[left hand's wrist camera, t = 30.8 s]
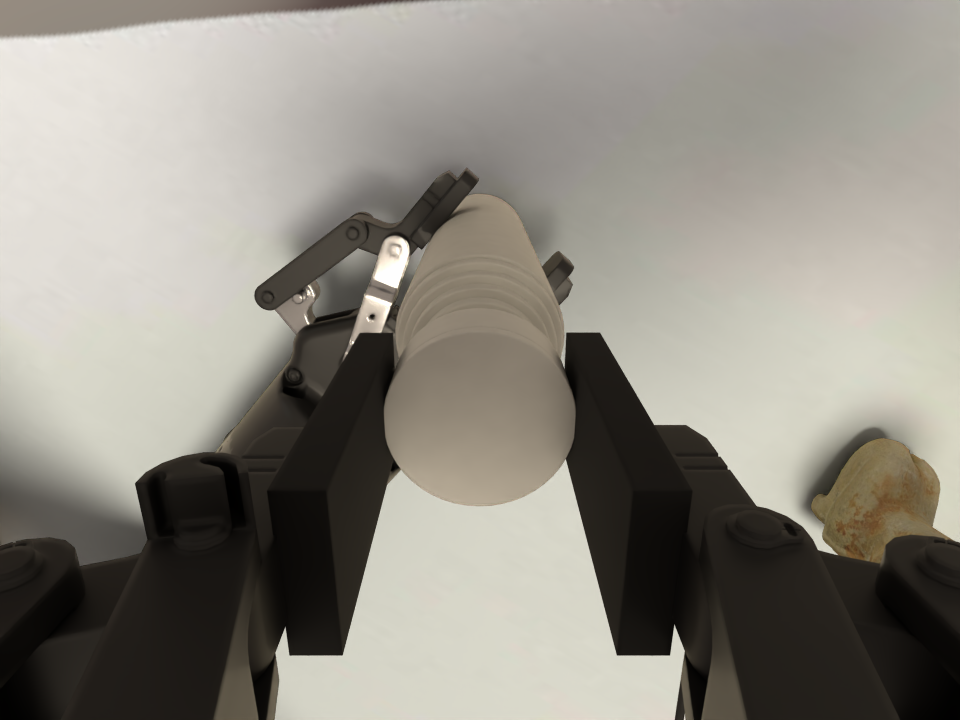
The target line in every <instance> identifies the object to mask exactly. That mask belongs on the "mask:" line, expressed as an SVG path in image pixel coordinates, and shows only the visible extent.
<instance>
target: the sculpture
mask: <svg viewBox="0 0 960 720" xmlns="http://www.w3.org/2000/svg"><path fill="white" fill-rule="evenodd" d="M939 494H940V482H939V479H938V477H937V475H936V473H935V471H934V470H933V468H932V467H931V466H930V465H929V464H928V463H927V462H926V461H924V460H922V459H920V458H918V457H917V456H915V455H913V454H910V452H909V449H908V448H907V447H906V446H904V445H903V444H901V443H900V442H897V441H894V440H890V439H884V438H880V439H875V440H872V441H870V442H868V443H866V444H865V445H863V446H862V447H860V448H859V449H858V450H857V451H856V452H855V453H854V454H853V455H852V456H851V457H850V459H849V460H848V461H847V463H846V464H845V466H844V467H843V469H842V470H841V472H840V474H839V476H838V478H837V480H836V482H835V484H834V486H833V487H832V489H831V491H830V493H829V494H828V495H824V494H818V495H817V496H816V497H815V498H814V499H813V501H812V504H811V509H812V511H813V512H814V514H815V515H816V517H817V518H818V519H819V520H820V521H821V522H822V523H824V524H825V526H824V530H823V533H822V537H823V540H824V541H825V543H826V544H828V545H829V546H830V547H831V548H832V549H833V550H834V551H835V552H836V553H837V554H838V555H839V556H844V557H849V558H855V559H860V560H865V561H870V562H875V563H881V560H882V556H883V552H884V549H885V545H886V544H887V543H888V542H890V541H891V540H892V539H893V538H894V537H900V536H906V535H923V536H935V537H940V538H945V540H948V539H949V540H952V539H950V538H949V537H947V536H945V535H944V534H942V533H941V532H939V531H938V530H936V529H934V528H933V527H932V526H933V522H934V518H935V513H936V509H937V505H938V500H939ZM952 541H953V540H952Z"/></svg>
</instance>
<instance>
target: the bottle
mask: <svg viewBox="0 0 960 720" xmlns="http://www.w3.org/2000/svg"><path fill="white" fill-rule="evenodd" d="M471 308H488V309H496V310H501V311H505V312H508V313H511V314H514V315H516V316H518V317H520V318H522V319H524V320H526V321H528V322H529V323H531V324H532V325H534V326H535V327H536V328H538V329H539V330H540V331H541V332H542V333H543V334H544V335H545V336H546V337H547V338H548V339H549V341H550V342H551V343H552V345H553V346H554V348H555V349H556V351H557V353H558V355H559V357H560V358H561V354H562V349H563V344H564V323H563V318H562V313H561V310H560V307H559V304H558V302H557V300H556V297H555V295H554V293H553V291H552V289H551V286H550V284H549V282H548V280H547V277H546V275H545V273H544V271H543V269H542V266H541V264H540V262H539V260H538V257H537V255H536V253H535V251H534V248H533V246H532V244H531V242H530V240H529V237H528V235H527V233H526V231H525V228H524V226H523V224H522V222H521V220H520V218H519V216H518V214H517V213H516V211H515V210H514V209H513V208H512V207H511V206H510V205H509V204H508V203H506V202H505V201H503V200H502V199H500V198H498V197H495V196H492V195H487V194H472V195H468V196H466V197H465V198H464V200H463V201H462V202H461V203H460V204H459V206H458V207H457V208H456V209H455V210H454V212H453V213H452V214H451V215H450V216H449V218H448V219H447V220H446V221H445V222H444V224H443V225H442V226H441V227H440V228H439V229H438V230H437V231H436V233H435V234H434V235H433V237H432V238H431V239H430V241H429V244H428V246H427V248H426V250H425V252H424V255H423V257H422V259H421V261H420V264H419V266H418V268H417V270H416V273H415V275H414V277H413V279H412V281H411V284H410V286H409V288H408V290H407V293H406V295H405V297H404V299H403V302H402V304H401V306H400V309H399V312H398V316H397V321H396V329H395V330H396V346H397V351H398V356H399V358H400V356H401V354H402V352H403V350H404V349H405V347H406V346H407V344H408V343H409V341H410V340H411V339H412V338H413V337H414V336H415V335H416V333H417V332H419V331H420V330H421V329H422V328H423V327H425V326H426V325H427V324H429V323H430V322H432V321H433V320H435V319H437V318H439V317H441V316H443V315H446V314H448V313H452V312H455V311H458V310H464V309H471Z"/></svg>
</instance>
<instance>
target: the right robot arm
mask: <svg viewBox="0 0 960 720" xmlns="http://www.w3.org/2000/svg"><path fill="white" fill-rule="evenodd" d="M478 181H479V178H478V177H477V176H476V175H475V174H473V173H472V172H471V171H470V170H469V169H468V168H466V169H465V170H464V171H463V173H462V174H461V175H460V176H459V177H458V178H457V177H456V176H455V175H454V174H453V173H451V172H450V171H447V172H446V173H444V174H442V175H440V176H438V177H437V179H436V180H435V181H434V182H433V183H432V185H431V186H430V187H429V188H428V190H427V191H426V192H425V193H424V195H423V196H422V197H421V198H420V199H419V201H418V202H417V203H416V204H415V206H414V207H413V208H412V209H411V211H410V212H409V213H408V214H407V216H406V217H405V218H404V219H403V220H402V221H400V222H398V223H394V224H390V223H386V222H383V221H380V220H378V219H375V218H373V216H372V215H370V214H369V213H367V212H358V213H356V214H354V215H353V216H352V217H350V218H349V219H347V220H346V221H344V222H343V223H341V224H340V225H339V226H337V227H336V228H335V229H333V230H332V231H331V232H330V233H328V234H327V235H326V236H324V237H323V238H322V239H320V240H319V241H318V242H316V243H315V244H314V245H312V246H311V247H310V248H308V249H307V250H306V251H304V252H303V253H302V254H301V255H299V256H298V257H297V258H295V259H294V260H293V261H291V262H290V263H289V264H287V265H286V266H285V267H283V268H282V269H281V270H279V271H278V272H277V273H275V274H274V275H273V276H272V277H270V278H269V279H268V280H266V281H265V282H264V283H262V284H261V285H260V286H258V287H257V289H256V290H255V295H254V296H255V300H256V302H257V304H258V305H259V306H260V307H261V308H263V309H265V310H276V312H277V313H278V314H279V315H280V316H281V317H282V319H283V320H284V321H285V322H286V323H287V325H288V326H289V327H290V328H291V329H292V330H293V332H294V333H295V334H296V337H295V339H294V343H293V352H292V356H291V358H290V361H289V362H288V363H287V364H286V365H285V367H284V368H283V369H282V370H281V372H280V373H279V374H278V375H277V377H276V378H275V379H274V380H273V382H272V383H271V384H270V385H269V386H268V388H267V389H266V390H265V391H264V393H263V394H262V395H261V396H260V398H259V399H258V400H257V401H256V402H255V404H254V405H253V406H252V407H251V409H250V410H249V411H248V412H247V414H246V415H245V416H244V417H243V418H242V420H241V421H240V423H238V425H237V426H236V427H235V428H234V429H232V430H231V431H230V432H229V433H228V434H227V436H226V437H225V439H224V441H223V443H222V444H221V446H220V447H219V448H218V449H217V451H216V452H223V453H228V454H232V455H236V456H239V457H240V458H241V459H242V455H243V453H244V452H245V451H246V449H247V448H248V447H249V445H250V444H251V442H252V441H253V440H254V439H256V438H258V437H259V436H261V435H262V434H264V433H265V432H267V431H269V430H270V429H272V428H273V427H305V425H306V423H307V421H308V420H309V418H310V416H311V415H312V413H313V411H314V410H315V408H316V406H317V404H318V403H319V401H320V399H321V398H322V396H323V394H324V393H325V391H326V389H327V387H328V386H329V384H330V382H331V381H332V379H333V377H334V376H335V374H336V372H337V370H338V369H339V367H340V365H341V364H342V362H343V360H344V358H345V357H346V355H347V353H348V352H349V350H350V348H351V347H352V345H353V343H354V341H355V340H356V338H357V336H358V335H359V333H393V341H394V361H395V369H396V366H397V363H398V360H399V356H398V351H397V346H396V330H395V329H396V321H397V316H398V312H399V309H400V307H399V306H397V305H396V306H395V307H394V304H395V301H396V298H397V296H398V293H399V290H400V287H401V284H402V281H403V277H404V274H405V271H406V268H407V266H408V263H409V260H410V257H411V255H412V253H413V252H414V251H415V250H416V249H417V247H419V248H420V249H423V248H424V246H425V245H426V244H427V243H428V242H429V240H430V239H431V238H432V237H433V235H434V234H435V233H436V231H437V230H438V229H439V228H440V227H441V226H442V225H443V224H444V222H445V221H446V220H447V219H448V218H449V216H450V215H451V214H452V213H453V212H454V210H455V209H456V208H457V207H458V206H459V204H460V203H461V202H462V201H463V200H464V198H465V197H466V196H467V195H468V194H469V192H470V191H471V190H472V189H473V188H474V186H475V185H476V184H477V182H478ZM358 248H359V249H362V250H365V251H367V252H370V253H373V254H376V255H378V259H377V262H376V265H375V268H374V271H373V274H372V277H371V280H370V283H369V285H368V287H367V290H366V292H365V295H364V298H363V301H362V304H361V307H360V308H356V309H352V310H347V311H343V312H339V313H334V314H330V315H326V316H321V317H317V318H316V317H315V316H314V314H313V311H312V307H313V304H314V302H315V301H316V300H317V299H318V297H319V295H320V287H319V285H318V283H317V282H316V281H315V280H316V279H317V278H319V277H320V276H321V275H323V274H324V273H325V272H327V271H328V270H329V269H331V268H332V267H333V266H335V265H336V264H337V263H339V262H340V261H341V260H343V259H344V258H345V257H347V256H348V255H349V254H351V253H352V252H354V251H355V250H356V249H358ZM542 269H543V271H544V273H545V275H546V277H547V280H548V282H549V284H550V286H551V289H552V291H553V293H554V295H555V297H556V300H557V302H558V304H559V305H560V304H561V303H562V302H563V301H564V300H565V299H566V298H567V297H568V295H569V293H570V290H571V288H572V285H573V284H572V282H571V281H570V279H569V277H568V276H569V275H570V274H571V273H572V271H573V269H574V266H573V265H572V263H571V262H570V261H569V260H568V259H567V258H566V257H565V256H564V255H563V254H562V253H560V252H559V251H558V252H556V253H555V254H554V255H552V256H551V258H550V259H549V260H548V261H547V262H546V263H545V264H544V265H543V266H542ZM400 470H401V469H400V467H399V466H398V465H397V463H396V461H395V460H394V459H393V463H392V467H391V471H390V475H389V479H388V483H389V482H390V481H391V480H392V479H393V478H394V477H395V476H396V475H397V473H398V472H399V471H400ZM388 483H387V484H388Z"/></svg>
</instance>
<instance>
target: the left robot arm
mask: <svg viewBox="0 0 960 720" xmlns="http://www.w3.org/2000/svg"><path fill="white" fill-rule="evenodd" d="M394 372H395V361H394V341H393V333H359V335H358V336H357V338H356V340H355V341H354V343H353V345H352V347H351V348H350V350H349V352H348V353H347V355H346V357H345V358H344V360H343V362H342V364H341V365H340V367H339V369H338V370H337V372H336V374H335V376H334V377H333V379H332V381H331V382H330V384H329V386H328V387H327V389H326V391H325V393H324V394H323V396H322V398H321V399H320V401H319V403H318V404H317V406H316V408H315V410H314V411H313V413H312V415H311V416H310V418H309V420H308V421H307V423H306V425H305V427H273V428H272V429H270V430H269V431H267V432H265V433H264V434H262V435H261V436H259V437H258V438H256V439H254V440H253V441H252V442H251V444H250V445H249V447H248V448H247V449H246V451H245V452H244V453H243V455H242V459H241V458H240V457H239V456H236V455H232V454H228V453H223V452H203V453H198V454H192V455H186V456H181V457H179V458H176V459H173V460H170V461H167V462H164V463H162V464H160V465H158V466H156V467H154V468H153V469H151V470H149V471H147V472H146V473H145V474H144V475H143V476H142V477H141V478H140V479H139V480H138V481H137V482H136V483H135V486H136V490H137V494H138V499H139V503H140V508H141V512H142V517H143V521H144V526H145V530H146V535H147V539H148V540H147V542H146V544H145V546H144V548H143V550H142V553H140V554H136V555H132V556H129V557H125V558H120V559H114V560H109V561H104V562H99V563H94V564H89V565H84V566H80V565H79V562H78V558H77V554H76V551H75V548H74V547H73V546H72V545H71V544H69V543H68V542H67V541H66V540H61V539H55V538H37V539H25V540H20V541H16V542H15V543H13V542H11V543H8V544H5V545H2V546H0V720H274V719H275V711H276V703H277V695H278V686H279V675H278V668H277V661H276V654H275V652H276V649H277V647H278V644H279V642H280V639H281V637H282V634H283V631H284V629H285V626H286V633H287V640H288V647H289V655H343V652H344V648H345V644H346V640H347V636H348V633H349V629H350V625H351V621H352V617H353V613H354V610H355V606H356V602H357V598H358V594H359V590H360V586H361V583H362V579H363V575H364V571H365V567H366V563H367V559H368V556H369V552H370V548H371V544H372V540H373V536H374V533H375V529H376V525H377V521H378V517H379V513H380V509H381V506H382V502H383V498H384V494H385V490H386V486H387V483H388V479H389V475H390V471H391V467H392V463H393V459H394V458H393V456H392V455H391V452H390V450H389V447H388V445H387V442H386V438H385V424H384V403H385V398H386V395H387V392H388V389H389V386H390V383H391V380H392V377H393V375H394ZM565 373H566V375H567V378H568V381H569V384H570V387H571V390H572V393H573V396H574V400H575V405H576V416H575V433H574V440H573V444H572V447H571V449H570V451H569V453H568V456H567V458H566V461H567V465H568V469H569V473H570V476H571V480H572V484H573V488H574V492H575V496H576V500H577V503H578V507H579V511H580V515H581V519H582V523H583V526H584V530H585V534H586V538H587V542H588V546H589V550H590V553H591V557H592V561H593V565H594V569H595V573H596V577H597V580H598V584H599V588H600V592H601V596H602V600H603V603H604V607H605V611H606V615H607V619H608V623H609V627H610V630H611V634H612V638H613V642H614V646H615V650H616V653H617V655H670V651H671V644H672V637H673V630H674V624H675V627H676V629H677V632H678V634H679V637H680V640H681V642H682V645H683V647H684V650H685V654H684V661H683V668H682V674H681V681H680V688H679V695H678V701H677V708H676V715H675V720H684V715H685V718H686V720H960V543H959V542H956V541H952V540H949V539H948V540H945V538H940V537H935V536H923V535H906V536H900V537H894V538H893V539H892V540H891V541H890V542H888V543H887V544H886V545H885V549H884V552H883V556H882V560H881V563H875V562H870V561H865V560H860V559H855V558H849V557H844V556H839V555H834V554H830V553H827V552H823V551H819V550H818V549H817V547H816V545H815V543H814V541H813V539H812V538H811V537H810V535H809V534H808V533H807V532H806V530H805V529H804V528H803V527H802V526H801V525H799V524H798V523H796V522H795V521H793V520H792V519H790V518H789V517H787V516H785V515H782V514H780V513H777V512H775V511H772V510H770V509H767V508H762V507H757V506H756V505H755V503H754V502H753V501H752V499H751V498H750V497H749V495H748V494H747V492H746V491H745V490H744V488H743V487H742V486H741V484H740V483H739V482H738V480H737V479H736V477H735V476H734V475H733V473H732V472H731V471H730V470H728V468H727V467H728V466H727V465H726V464H725V462H724V461H723V460H722V458H721V457H718V453H717V451H716V450H715V449H714V447H713V446H712V445H711V443H710V442H709V441H708V439H707V438H706V437H704V436H702V435H701V434H699V433H698V432H696V431H694V430H693V429H691V428H690V427H688V426H686V425H654V424H653V422H652V421H651V419H650V417H649V415H648V414H647V412H646V410H645V409H644V407H643V405H642V404H641V402H640V400H639V398H638V397H637V395H636V393H635V392H634V390H633V388H632V386H631V385H630V383H629V381H628V380H627V378H626V376H625V375H624V373H623V371H622V369H621V368H620V366H619V364H618V363H617V361H616V359H615V358H614V356H613V354H612V352H611V351H610V349H609V347H608V346H607V344H606V342H605V341H604V339H603V337H602V335H601V334H600V333H566V352H565Z"/></svg>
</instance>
